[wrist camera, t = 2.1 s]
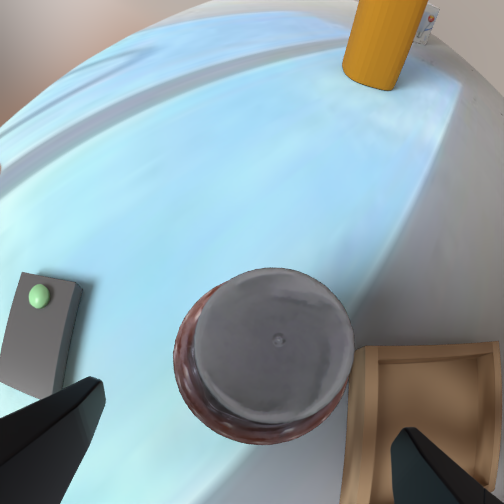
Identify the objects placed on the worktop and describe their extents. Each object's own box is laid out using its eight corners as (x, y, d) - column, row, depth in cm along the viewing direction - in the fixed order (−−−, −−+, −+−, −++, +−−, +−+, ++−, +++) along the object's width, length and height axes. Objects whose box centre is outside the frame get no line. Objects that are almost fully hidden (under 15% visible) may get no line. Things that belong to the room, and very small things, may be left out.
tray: (473, 487, 13) (494, 490, 11) (336, 523, 13) (350, 536, 10) (477, 349, 18) (498, 340, 16) (349, 353, 18) (365, 345, 16)
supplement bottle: (192, 333, 18) (151, 236, 8) (289, 323, 19) (359, 222, 9) (202, 431, 15) (164, 471, 5) (304, 418, 16) (409, 427, 6)
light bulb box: (393, 38, 47) (408, -4, 37) (375, 25, 49) (387, -14, 40) (426, 45, 49) (441, 9, 39) (408, 32, 52) (421, -3, 42)
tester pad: (59, 404, 15) (47, 403, 13) (6, 382, 15) (-8, 378, 13) (82, 289, 19) (73, 279, 17) (30, 278, 18) (19, 269, 17)
